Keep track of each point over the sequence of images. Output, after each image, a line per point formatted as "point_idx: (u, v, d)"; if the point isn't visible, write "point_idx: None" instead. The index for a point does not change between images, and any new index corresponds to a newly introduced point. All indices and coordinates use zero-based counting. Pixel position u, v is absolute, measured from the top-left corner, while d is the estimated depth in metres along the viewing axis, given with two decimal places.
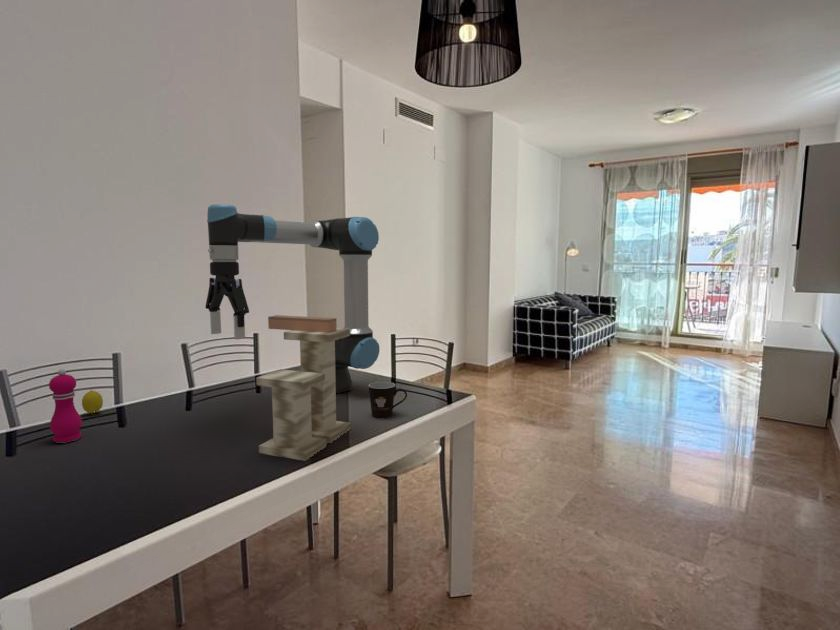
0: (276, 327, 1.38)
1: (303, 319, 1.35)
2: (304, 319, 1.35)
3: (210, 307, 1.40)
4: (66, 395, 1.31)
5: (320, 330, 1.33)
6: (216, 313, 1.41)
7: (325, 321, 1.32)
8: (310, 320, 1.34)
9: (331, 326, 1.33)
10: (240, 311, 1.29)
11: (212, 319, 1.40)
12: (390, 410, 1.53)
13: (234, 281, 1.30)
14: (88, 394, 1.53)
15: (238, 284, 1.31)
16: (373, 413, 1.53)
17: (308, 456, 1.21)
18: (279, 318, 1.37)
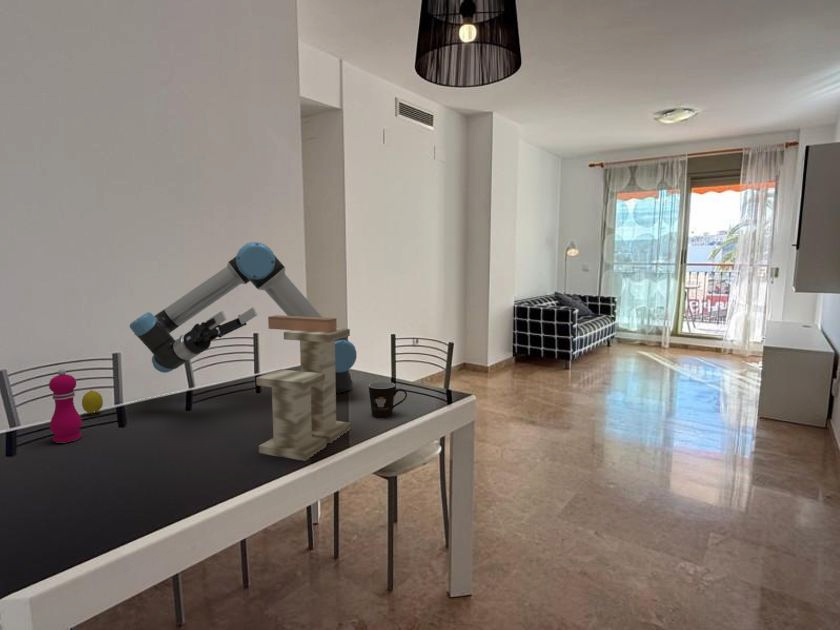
0: (276, 327, 1.38)
1: (303, 319, 1.35)
2: (304, 319, 1.35)
3: None
4: (66, 395, 1.31)
5: (320, 330, 1.33)
6: None
7: (325, 321, 1.32)
8: (310, 320, 1.34)
9: (331, 326, 1.33)
10: None
11: None
12: (390, 410, 1.53)
13: None
14: (88, 394, 1.53)
15: None
16: (373, 413, 1.53)
17: (308, 456, 1.21)
18: (279, 318, 1.37)
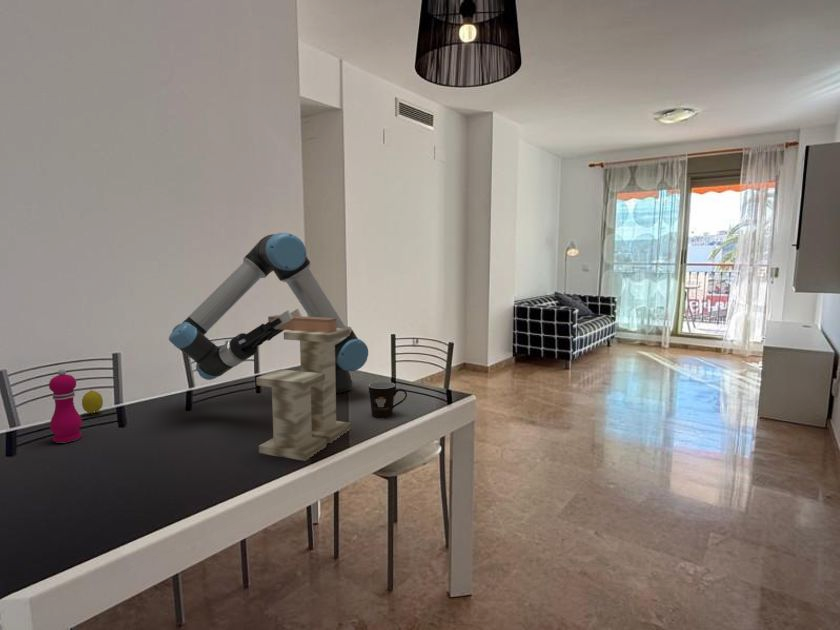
0: None
1: (303, 319, 1.35)
2: (304, 319, 1.35)
3: None
4: (66, 395, 1.31)
5: (320, 330, 1.33)
6: None
7: (325, 321, 1.32)
8: (310, 320, 1.34)
9: (331, 326, 1.33)
10: None
11: None
12: (390, 410, 1.53)
13: None
14: (88, 394, 1.53)
15: None
16: (373, 413, 1.53)
17: (308, 456, 1.21)
18: None
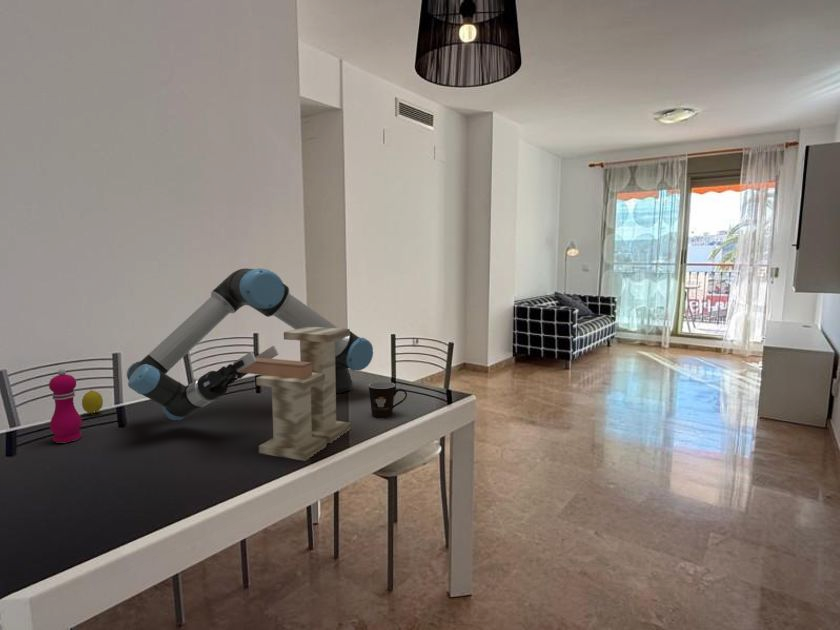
0: (247, 371, 1.27)
1: (275, 363, 1.24)
2: (276, 364, 1.24)
3: None
4: (66, 395, 1.31)
5: (293, 376, 1.22)
6: None
7: (299, 367, 1.21)
8: (283, 365, 1.23)
9: (305, 371, 1.22)
10: None
11: None
12: (390, 410, 1.53)
13: None
14: (88, 394, 1.53)
15: None
16: (373, 413, 1.53)
17: (308, 456, 1.21)
18: None
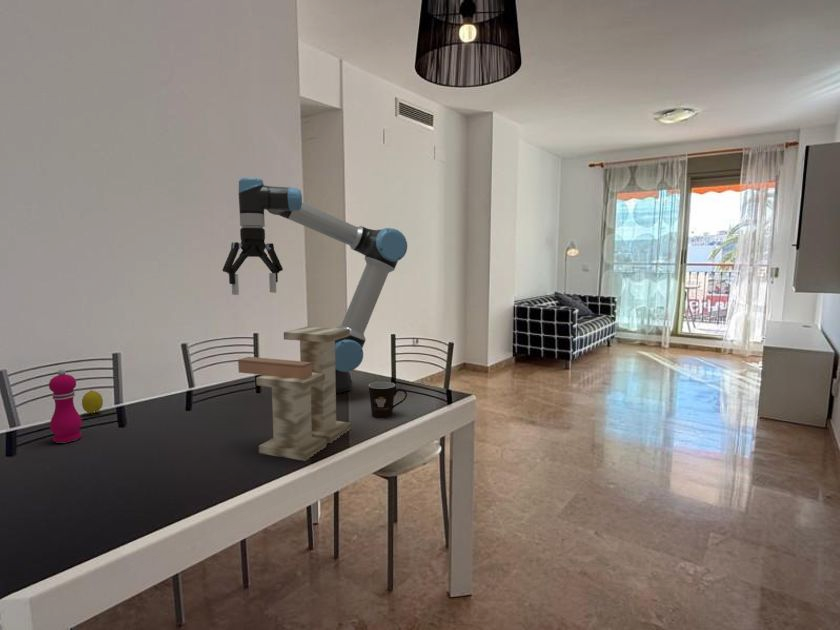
0: (247, 371, 1.27)
1: (275, 363, 1.24)
2: (276, 364, 1.24)
3: None
4: (66, 395, 1.31)
5: (293, 376, 1.22)
6: (271, 274, 1.62)
7: (299, 367, 1.21)
8: (283, 365, 1.23)
9: (305, 371, 1.22)
10: None
11: (269, 279, 1.63)
12: (390, 410, 1.53)
13: (231, 244, 1.51)
14: (88, 394, 1.53)
15: (233, 246, 1.51)
16: (373, 413, 1.53)
17: (308, 456, 1.21)
18: (250, 361, 1.26)
